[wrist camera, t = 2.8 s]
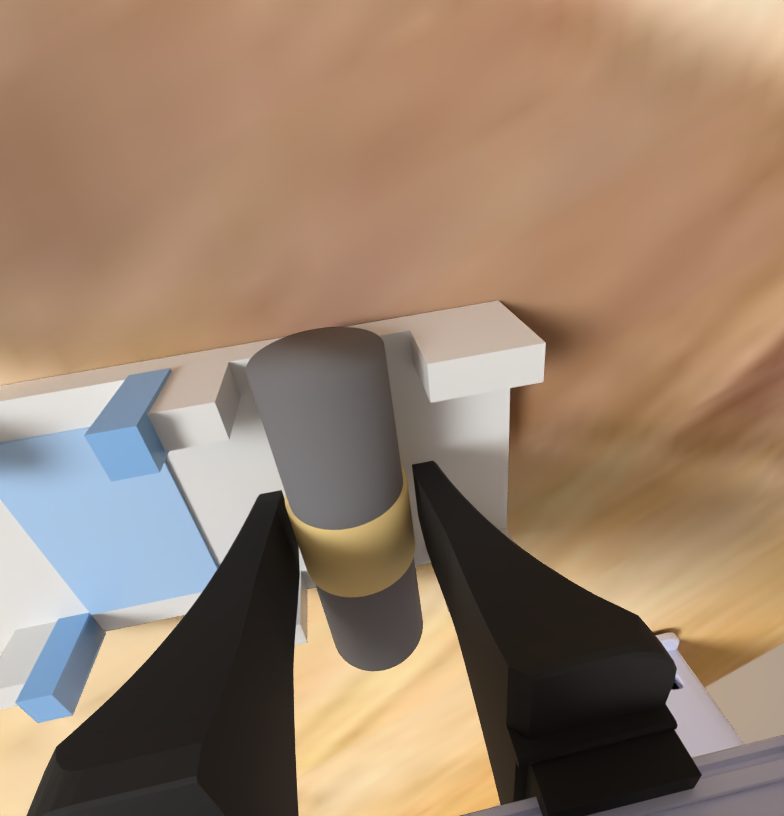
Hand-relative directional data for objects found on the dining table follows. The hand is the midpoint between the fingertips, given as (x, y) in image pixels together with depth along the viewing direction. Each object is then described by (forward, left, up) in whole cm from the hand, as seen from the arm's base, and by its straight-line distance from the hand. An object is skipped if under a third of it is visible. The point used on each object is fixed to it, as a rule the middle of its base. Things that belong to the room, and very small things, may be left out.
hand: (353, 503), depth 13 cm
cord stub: (0, 0, -1) cm, 1 cm away
